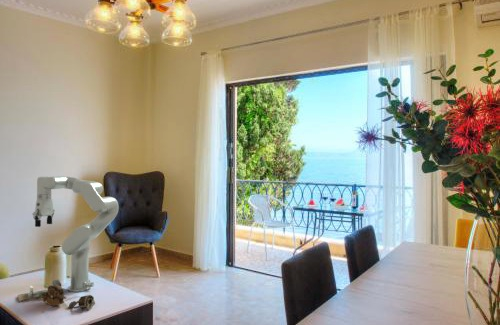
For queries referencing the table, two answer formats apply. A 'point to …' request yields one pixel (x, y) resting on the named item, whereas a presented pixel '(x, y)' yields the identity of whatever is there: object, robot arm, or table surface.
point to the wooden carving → (54, 295)
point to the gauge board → (35, 293)
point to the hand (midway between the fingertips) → (43, 225)
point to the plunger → (31, 290)
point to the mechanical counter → (83, 303)
